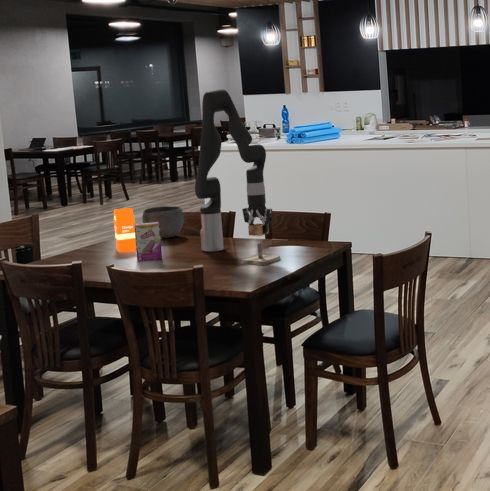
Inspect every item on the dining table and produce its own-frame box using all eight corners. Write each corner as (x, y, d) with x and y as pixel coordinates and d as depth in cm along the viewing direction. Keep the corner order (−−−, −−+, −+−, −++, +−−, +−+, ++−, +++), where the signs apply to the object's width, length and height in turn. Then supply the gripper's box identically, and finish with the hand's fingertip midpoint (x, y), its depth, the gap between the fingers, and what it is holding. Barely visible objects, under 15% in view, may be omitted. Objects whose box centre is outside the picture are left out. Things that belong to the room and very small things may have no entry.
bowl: (156, 233, 449) (153, 205, 446) (192, 233, 441) (190, 204, 438) (136, 241, 430) (133, 212, 427) (174, 241, 422) (171, 211, 419)
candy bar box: (137, 262, 379) (134, 225, 376) (137, 260, 384) (133, 223, 381) (162, 259, 381) (159, 223, 378) (162, 257, 386) (158, 221, 383)
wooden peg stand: (240, 263, 362) (239, 244, 360) (257, 257, 371) (255, 239, 370) (264, 265, 355) (263, 246, 353) (280, 259, 364) (279, 241, 363)
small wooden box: (248, 235, 360) (248, 225, 359) (257, 232, 365) (256, 223, 364) (260, 235, 357) (259, 226, 356) (268, 233, 361) (268, 223, 361)
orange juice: (116, 249, 412) (112, 208, 408) (134, 247, 414) (130, 206, 410) (119, 252, 404) (115, 210, 401) (137, 250, 407) (133, 208, 403)
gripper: (236, 194, 359) (239, 233, 362) (265, 194, 351) (267, 235, 354) (247, 191, 365) (250, 230, 368) (275, 192, 356) (278, 232, 360)
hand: (258, 232), depth 361 cm, fingers closed on small wooden box, 6 cm apart
